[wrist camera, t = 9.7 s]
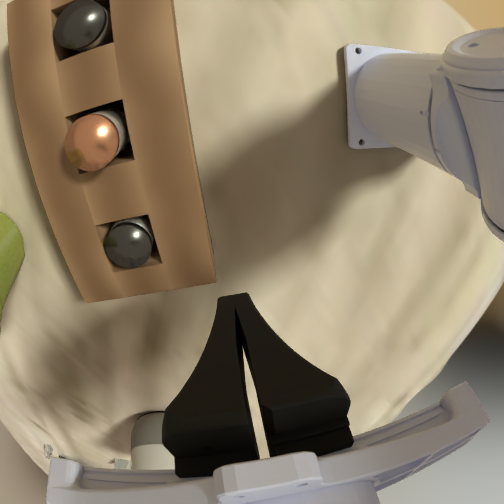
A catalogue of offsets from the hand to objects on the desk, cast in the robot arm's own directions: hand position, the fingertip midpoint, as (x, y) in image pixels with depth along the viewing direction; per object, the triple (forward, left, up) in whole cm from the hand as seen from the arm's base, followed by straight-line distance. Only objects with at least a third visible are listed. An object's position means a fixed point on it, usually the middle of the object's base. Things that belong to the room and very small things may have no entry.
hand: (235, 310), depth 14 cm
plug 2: (+6, -1, -10) cm, 11 cm away
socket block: (+6, -8, -10) cm, 14 cm away
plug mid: (+6, -8, -8) cm, 13 cm away
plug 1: (+6, -15, -10) cm, 19 cm away
